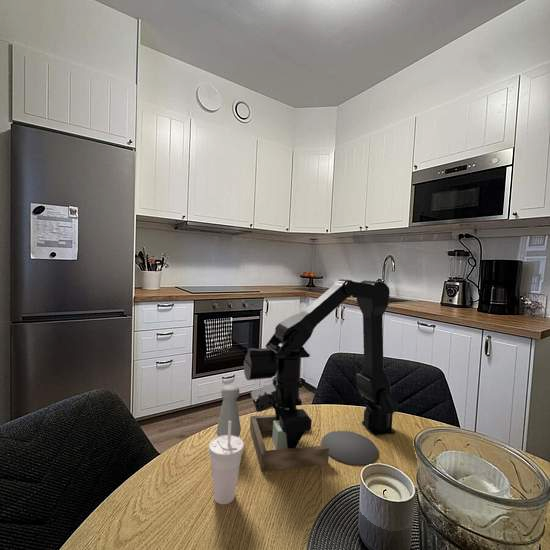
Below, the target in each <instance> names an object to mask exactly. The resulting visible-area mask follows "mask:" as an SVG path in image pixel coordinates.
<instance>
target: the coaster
mask: <svg viewBox="0 0 550 550" xmlns="http://www.w3.org/2000/svg"><path fill="white" fill-rule="evenodd" d="M323 445H327V446H328V448H329V458H332V460H333V459H334V460H336V461H338V462H340V463H344V464H346V465H352V466H353V465H354V466H363V465H368V464H371V463H372V462H374V461H375V460H376V459H377V457H378V452H379V450H378V448H377V446H376V444H375V443H374V441H372V440H371V439H369V438H368V437H366V436H365V435H362V434H361V433H356V432H353V431H348V430H335V431H331V432H327V433H326V434H324V435H323V436H322V438H321V445H320V446H323Z"/></svg>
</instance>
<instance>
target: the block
mask: <svg viewBox="0 0 550 550" xmlns="http://www.w3.org/2000/svg"><path fill="white" fill-rule="evenodd" d="M279 424H280V420H275V421H273V430H272V439H271V441H272V443H273V447H274V450H278V449H287V442H286V433H285V432H283V431H282V429H281V427H280V425H279ZM296 448H299V443H298V444H297V446H296Z"/></svg>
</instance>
